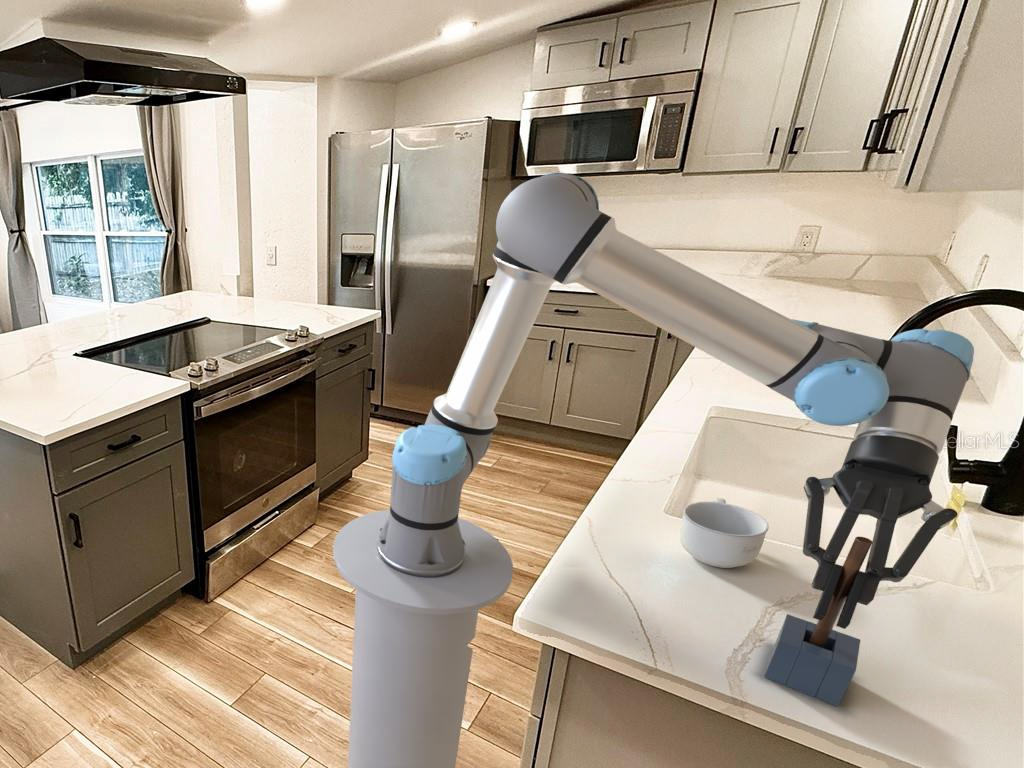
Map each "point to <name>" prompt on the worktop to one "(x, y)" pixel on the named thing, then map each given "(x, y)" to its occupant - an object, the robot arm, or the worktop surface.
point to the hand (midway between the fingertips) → (830, 620)
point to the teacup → (722, 533)
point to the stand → (813, 661)
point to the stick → (841, 590)
